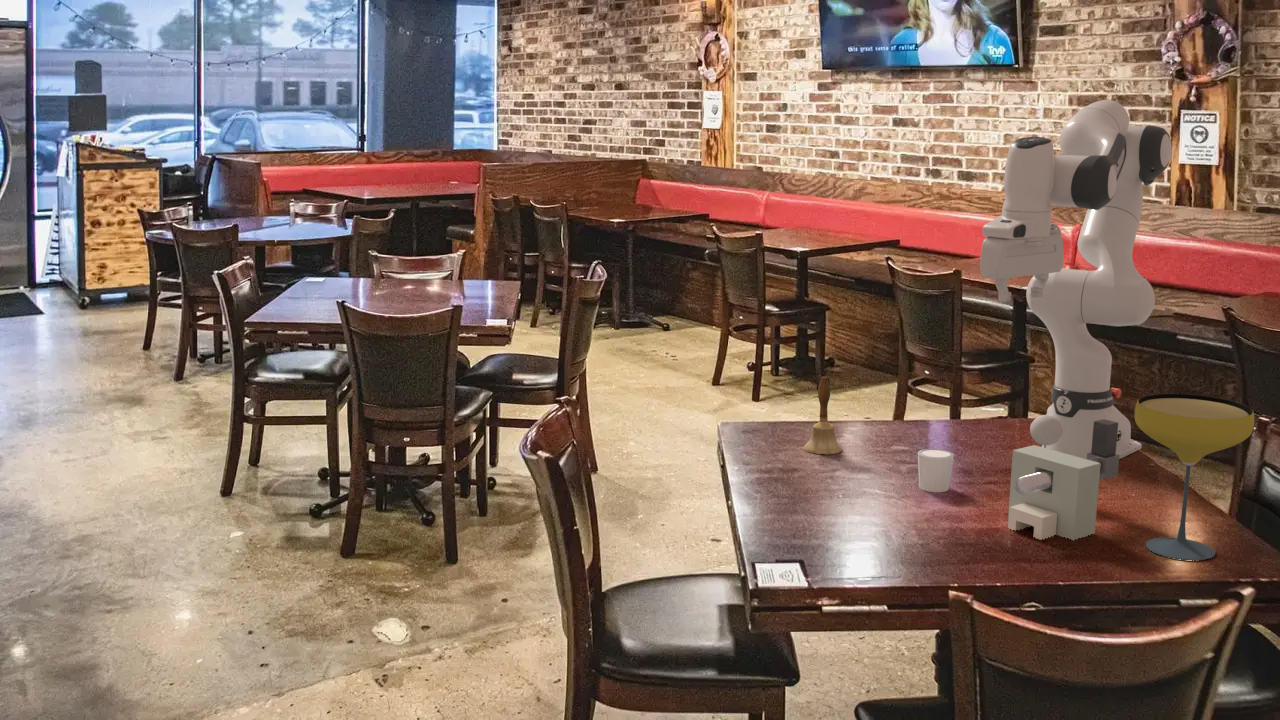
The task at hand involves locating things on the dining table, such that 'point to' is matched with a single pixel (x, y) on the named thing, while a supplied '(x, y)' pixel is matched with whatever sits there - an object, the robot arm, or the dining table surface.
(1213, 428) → the cocktail glass
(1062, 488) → the grey slotted block
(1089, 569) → the dining table surface
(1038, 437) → the lollipop
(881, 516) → the dining table surface
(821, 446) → the hand bell
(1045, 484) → the hammer
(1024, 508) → the block
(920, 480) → the white cup
